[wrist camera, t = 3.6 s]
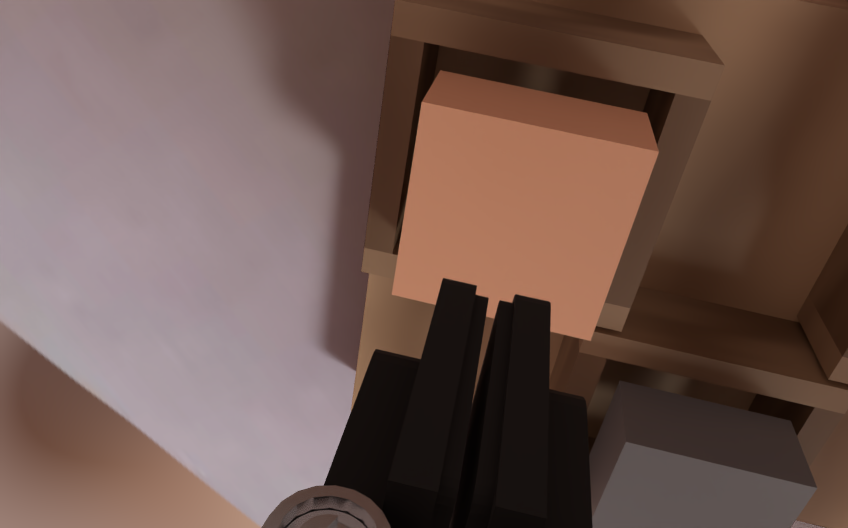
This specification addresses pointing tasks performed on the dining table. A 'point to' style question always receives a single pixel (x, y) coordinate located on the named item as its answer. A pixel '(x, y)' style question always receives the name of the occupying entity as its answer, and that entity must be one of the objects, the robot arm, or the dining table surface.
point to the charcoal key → (694, 465)
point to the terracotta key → (522, 197)
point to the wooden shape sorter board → (669, 199)
